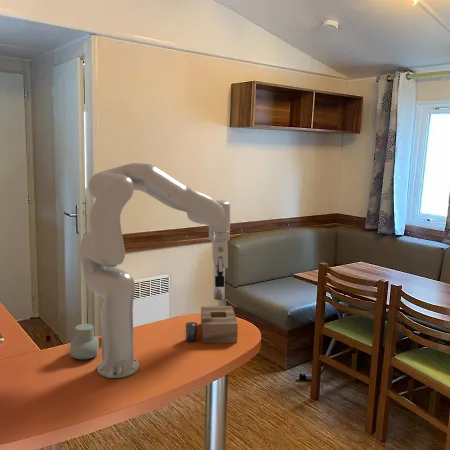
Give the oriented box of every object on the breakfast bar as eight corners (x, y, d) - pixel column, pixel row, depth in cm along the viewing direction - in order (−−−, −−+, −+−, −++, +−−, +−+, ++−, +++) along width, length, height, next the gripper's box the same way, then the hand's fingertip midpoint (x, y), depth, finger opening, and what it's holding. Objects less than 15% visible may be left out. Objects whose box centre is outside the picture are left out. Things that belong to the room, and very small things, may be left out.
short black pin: (197, 342, 166) (197, 326, 164) (186, 342, 165) (185, 326, 164) (197, 337, 169) (197, 321, 168) (185, 338, 169) (185, 322, 168)
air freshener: (74, 349, 159) (73, 321, 157) (99, 347, 160) (98, 320, 159) (69, 364, 148) (68, 334, 147) (96, 362, 150) (95, 332, 148)
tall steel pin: (224, 299, 170) (225, 267, 168) (213, 300, 170) (214, 267, 168) (223, 296, 174) (224, 264, 172) (213, 296, 174) (213, 265, 172)
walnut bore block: (237, 342, 166) (237, 323, 165) (203, 343, 165) (203, 324, 164) (231, 323, 183) (232, 305, 182) (201, 323, 182) (201, 306, 181)
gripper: (232, 240, 160) (231, 291, 163) (227, 230, 176) (227, 277, 180) (210, 240, 159) (210, 292, 162) (207, 231, 176) (207, 278, 179)
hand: (219, 284), depth 171 cm, fingers closed on tall steel pin, 4 cm apart
